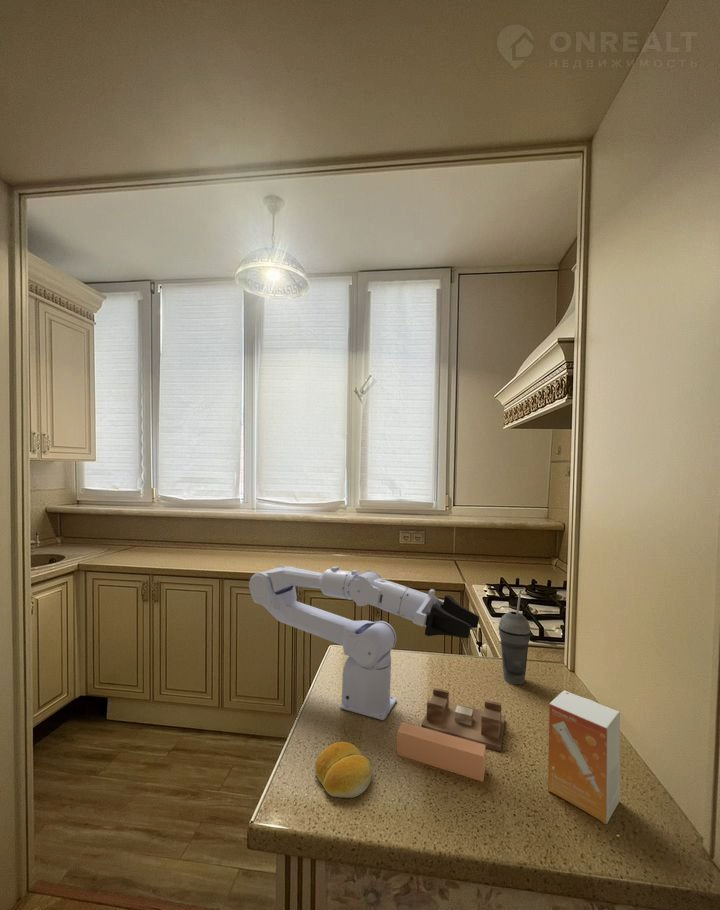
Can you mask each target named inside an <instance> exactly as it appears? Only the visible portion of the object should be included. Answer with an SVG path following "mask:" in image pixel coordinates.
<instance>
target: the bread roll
mask: <svg viewBox="0 0 720 910" xmlns="http://www.w3.org/2000/svg"><path fill="white" fill-rule="evenodd" d="M314 770H315V775H316V777H317V778H318V780H319V782H320V783H321V785H322V786H323V788H324V789H325V792H326V793H327V794H328V795H330V796H331V797H334V798H340V799H342V798H344V799H345V798H347V799H349V798H356V797H358V796H360V795H361V794H363V793H364V792H365V791H366V790H367V789H368V787H369V785H370V784H371V780H372V764H371V762H370V761H369V759H368V758H366V756H364V755H363V754H362V752H361V750H360V749H359V748H357V747H356V746H355V745H354V744H352V743H350V742H348V741H347V742H345V741H338V742H337V741H336V742H334V743H332V744H330V745H328V746H327V747H326V748H324V749H323V750H322V751H321V752H320V753H319V755H318V756H317V758H316V761H315V764H314Z"/></svg>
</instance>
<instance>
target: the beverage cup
mask: <svg viewBox="0 0 720 910" xmlns="http://www.w3.org/2000/svg"><path fill="white" fill-rule="evenodd" d="M521 596H522V595H521V594H520V593H519V594H518V596H517V597H518V599H517V606H516V611H513V610H512V611H508V612H506V613H504V614H503V615H502V616H501V618H500V619H499V625H498V627H497V628H498V633H499V637H500V648H501V649H500V650H501V660H502V663H501V664H502V672H503V673H502V674H503V679H504V681H505V682H506V683H508V682H509V684H512V685H514V684H522V683H525V679H526V673H527V662H528V661H527V660H528V651H529V642H530V640H531V635H532V631H531V627H530V625H531V624H530V623H529V621H528V619H527V618H526V616H524V615H523V613H520V606H521ZM522 685H523V684H522Z"/></svg>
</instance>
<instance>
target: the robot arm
mask: <svg viewBox="0 0 720 910" xmlns="http://www.w3.org/2000/svg"><path fill="white" fill-rule="evenodd" d="M296 587H300V588H311V589H320V591H321V592H322V594H323V595H325V596H326V597H332V598H339V599H344V600H350V601H351V600H352V601H353V602H355V606H357V607H364V606H367V605H370V606H373V607H375V608H378V609H380V610H383V611H385V612H388V613H391V614H393V615H395V616H398V617H401V618H403V619H407V620H409V621H412V623H413V624H415V625H417V626H419V627H425V629H424V630H425V631H424V635H425V636H427V637H431V636H432V637H433V636H447V637H448V636H449V637H455V638H461V639H462V638H463V639H469V637H470V633H471V629H478V626H479V623H480V622H479V621H480V616H479V615H477V614H476V613H474V612H472V611H471V610H469V609H467V608H465V607H464V606H462V605H461V604H460V603H459V602H458V601H456V600H455V599H454V598H453V597H452V596H451V595H449V594H446V595H444V597H443V598H444V599H443V600H442V599H440V598H438V597H437V596H436V595H435V593H436V589H433V588H430V590H428V593H425V592H422V591H421V590H420V591H419V590H417V589H413V588H410V587H408V586H406V585H404V584H403V585H402V584H399V583H397V582H394V581H390V580H387V579H384V578H382V577H381V575H380V574H378V573H377V572H375V571H373V570H370V569H369V570H366V571H363V573H360V572H359V570H358V569H353V570H343V569H340V567H339V566H337V565H336V566H332V567H331V568H328V569H326V570H324V571H323V572H318V571H315V570H314V571H313V570H309V569H302V568H298V567H294V566H291V565H289V566H285V565H280V566H277V567H275V568H271V569H268V570H265V571H259V572H256V573H254V574H252V575H251V577H250V579H249V583H248V589H249V592H250V595H251V598H252V600H253V602H254V603H255V604H257V605H260V606H262V607H263V608H264V609H265V610H267V612H268V613H270V615H271V616H272V617H273V618H274V619H275V620H276V621H278V622H280V623H281V624H285V625H287V626H290V627H293V628H295V629H297V630H299V631H303V632H306V633H308V634H311V635H313V636H317V637H318V638H321V639H324V640H327V641H329V642H332V643H335V644H337V645H339V646H342V649H343V654H344V655H345V656H348V657H347V658H346V659H345V660H346V661H345V663H344V667H343V671H342V687H341V704H340V705H339V707H340V708H339V709H341V710H346V711H348V712H353V713H355V714H360V715H362V716H366V717H370V718H373V719H377V720H380V721H384V720H386V718H387V717H388V715H389V713H390V711H391V710H392V708H393V707H394V705H395V704H396V702H397V698H396V697H393V696H391V678H392V677H391V676H392V657H391V654H392V653H391V651H392V649H394V648H395V646H396V643H397V633H396V631H395V629H394V627H393V626H392V625H391V624H390V623H388V622H387V621H384V620H379V621H370V620H353V619H350V618H346V617H344V616H341V615H339V614H336V613H335V614H334V613H332V612H330V611H326V610H323V609H321V608H317V607H315V606H312V605H309V604H307V603H303V602H301V601H298V600H297V599H298V598H297V595H298V594H297V590H296Z"/></svg>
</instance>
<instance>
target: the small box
mask: <svg viewBox="0 0 720 910" xmlns="http://www.w3.org/2000/svg"><path fill="white" fill-rule="evenodd" d="M548 704H549V705H548V754H547V755H548V757H547V758H548V759H547V762H548V763H547V790H548V791H549V792H550V793H552V794H554V795H556V796H557V797H560V798H561V799H563V800H565V801H566V802H567V803H570V804H572V805H573V806H575V807H577V808H579V809H580V810H582V811H584V812H585V813H587V814H589V815H590V816H591V817H594V819H595V818H596V819H597V820H598V821H600V822H601V823H603V824H605V825H608V823H609V821H610V819H611V817H612V816H613V814H614V811H615V810H616V808H617V806H618V805H619V803H620V801H621V800H620V798H621V752H620V751H621V727H620V726H621V711H618V710H616V709H613V708H611V707H608V706H606V705H604V704H600V703H598V702H596V701H595V700H592V699H589V698H586V697H584V696H580V695H577V694H574V693H573V692H570V691H567V690H563V691H561V692H560V693H559V694H558V695H556V696H555V698H554V699H553V700H552V701H551V702H550V703H548Z"/></svg>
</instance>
